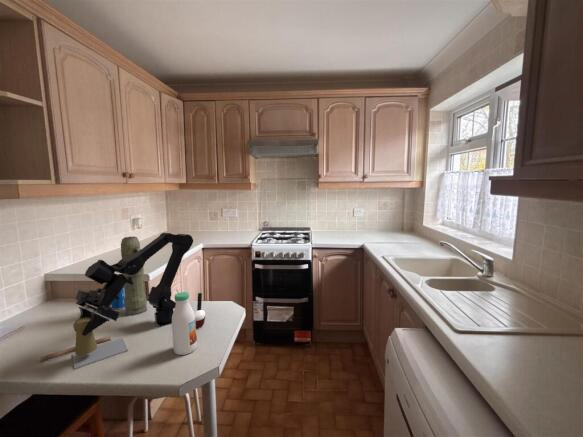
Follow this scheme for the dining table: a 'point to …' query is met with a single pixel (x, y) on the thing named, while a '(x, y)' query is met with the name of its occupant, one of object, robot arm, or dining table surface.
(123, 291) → the beverage can
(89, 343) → the cork
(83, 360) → the mat
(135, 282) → the thermos
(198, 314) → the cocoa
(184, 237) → the robot arm
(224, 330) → the dining table surface
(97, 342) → the walnut line
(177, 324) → the milk bottle
